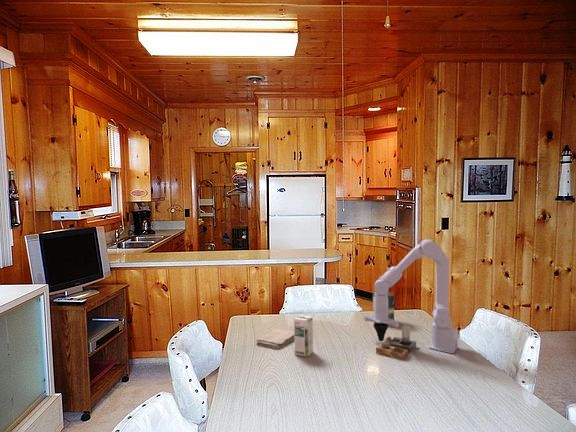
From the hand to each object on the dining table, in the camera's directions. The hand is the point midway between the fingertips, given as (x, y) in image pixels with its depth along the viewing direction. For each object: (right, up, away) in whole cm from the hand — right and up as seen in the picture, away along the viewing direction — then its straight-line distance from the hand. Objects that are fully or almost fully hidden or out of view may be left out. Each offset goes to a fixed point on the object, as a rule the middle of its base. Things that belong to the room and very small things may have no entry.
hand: (381, 340), depth 161 cm
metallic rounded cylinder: (+8, -1, -6) cm, 11 cm away
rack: (+1, -2, -12) cm, 12 cm away
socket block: (+7, -1, -5) cm, 9 cm away
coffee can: (+7, 0, +26) cm, 27 cm away
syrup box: (-33, -2, -10) cm, 34 cm away
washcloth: (-44, -2, +5) cm, 44 cm away
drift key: (+4, -1, -3) cm, 5 cm away
